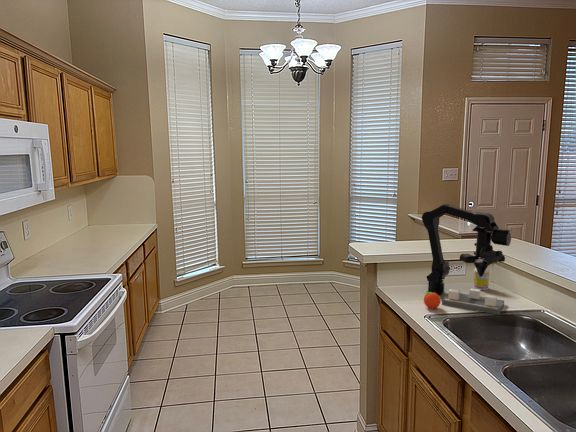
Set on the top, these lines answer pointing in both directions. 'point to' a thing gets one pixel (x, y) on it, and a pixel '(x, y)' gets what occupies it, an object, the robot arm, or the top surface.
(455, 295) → the tab left
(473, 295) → the tab middle
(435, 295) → the red tomato
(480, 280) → the supplement bottle
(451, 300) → the switch bank
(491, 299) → the tab right
